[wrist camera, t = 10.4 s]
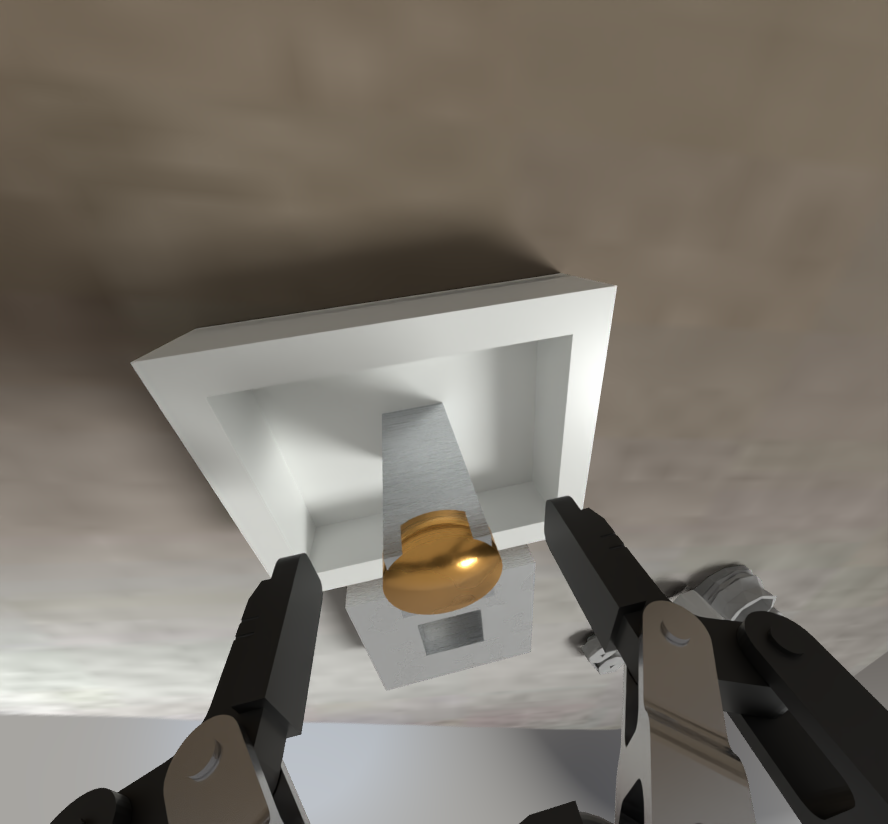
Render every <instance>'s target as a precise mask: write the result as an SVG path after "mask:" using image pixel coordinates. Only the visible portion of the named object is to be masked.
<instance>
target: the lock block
mask: <svg viewBox="0 0 888 824" xmlns="http://www.w3.org/2000/svg"><path fill="white" fill-rule="evenodd" d="M498 551H499V554H500V557H501V559H502V565H503V567H502V573H501V576H500V578H499V580H498V582H497V583H496V585H495V586H494V594H495V596H491V597H487V598H483V599H479V600H478V601H476V602H474V603H472V604H471V605H468V606H466V607H464V608H461V609H458V610H455V611H452V612H447V613H442V614H433V615H421V614H418V615H414V616H410V617H406V618H403V616H402V613H401V610H400V609H398V608H396V607H395V606H393V605H392V604H391V603H390V602H389V601H388V600H387V598H386V597H385V595H384V592H383V577H382V578H378V579H374V580H369V581H365V582H361V583H356V584H352V585H348V586H347V594H346V605H345V609H346V611H347V613H348V615H349V617H350V619H351V621H352V623H353V625H354V627H355V629H356V631H357V633H358V635H359V637H360V639H361V641H362V643H363V645H364V647H365V649H366V651H367V653H368V655H369V657H370V659H371V661H372V663H373V665H374V667H375V669H376V671H377V673H378V675H379V677H380V679H381V681H382V683H383V685H384V687H385V689H386V690H390V689H394V688H398V687H401V686H405V685H409V684H413V683H416V682H420V681H424V680H428V679H431V678H435V677H439V676H443V675H446V674H450V673H454V672H458V671H461V670H465V669H469V668H473V667H476V666H480V665H484V664H488V663H491V662H495V661H499V660H502V659H506V658H510V657H514V656H517V655H521V654H525V653H529V652H531V638H532V619H533V600H534V582H535V563H536V562H535V560H534V558H533V556H532V554H531V552H530V550H529V547H528V545H527V544H524V545H519V546H515V547H511V548H507V549H502V550H498Z"/></svg>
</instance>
